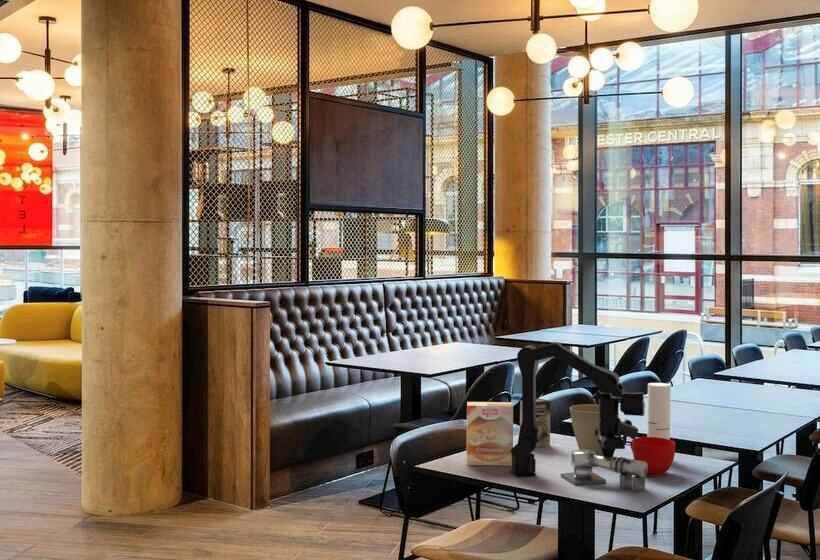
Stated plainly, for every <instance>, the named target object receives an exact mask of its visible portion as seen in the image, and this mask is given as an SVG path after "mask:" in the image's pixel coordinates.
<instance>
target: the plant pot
mask: <svg viewBox="0 0 820 560" xmlns="http://www.w3.org/2000/svg"><path fill="white" fill-rule="evenodd" d="M569 413H570V418H571V424H572V430H573V433H574V437H575V440H576V444H577V446H578V450H579V449H583V450H591V451H594V452H595V455H599V456H603V454H602V452H601V449H600V447H599V444H598V442H597V440H600V436H599V434H597V436H594V428H595V427H596V426H599V420H598V416H599V404H577V405H572V406H570V407H569Z"/></svg>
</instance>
